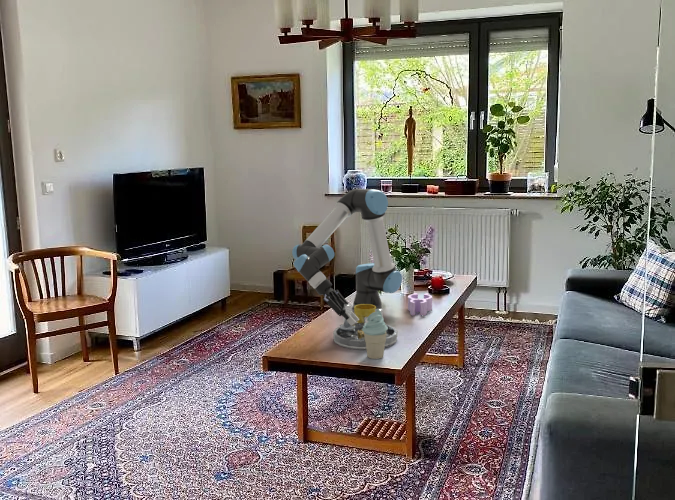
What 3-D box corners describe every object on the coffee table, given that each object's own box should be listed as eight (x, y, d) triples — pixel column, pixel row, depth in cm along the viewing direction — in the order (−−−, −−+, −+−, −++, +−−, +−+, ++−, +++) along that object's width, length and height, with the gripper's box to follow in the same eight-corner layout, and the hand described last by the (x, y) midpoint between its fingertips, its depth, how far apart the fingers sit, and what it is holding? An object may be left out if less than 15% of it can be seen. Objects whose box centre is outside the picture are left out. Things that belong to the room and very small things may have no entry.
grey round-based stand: (343, 326, 304) (343, 302, 302) (357, 327, 301) (357, 303, 299) (337, 330, 298) (337, 306, 296) (352, 331, 295) (351, 307, 293)
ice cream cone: (357, 357, 274) (356, 310, 271) (375, 350, 282) (375, 304, 278) (375, 362, 267) (375, 314, 264) (394, 355, 275) (393, 308, 271)
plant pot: (378, 323, 321) (378, 304, 319) (373, 330, 311) (373, 309, 309) (357, 322, 323) (357, 303, 322) (352, 328, 314) (351, 308, 312)
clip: (430, 316, 332) (430, 303, 331) (405, 315, 335) (405, 302, 333) (433, 306, 351) (433, 293, 350) (409, 305, 354) (409, 292, 353)
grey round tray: (347, 327, 315) (346, 302, 313) (405, 333, 305) (405, 307, 302) (323, 345, 290) (322, 318, 288) (385, 352, 279) (385, 324, 277)
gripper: (322, 285, 310) (356, 322, 306) (307, 293, 295) (343, 333, 291) (333, 274, 307) (367, 312, 304) (318, 282, 292) (354, 322, 288)
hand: (355, 322), depth 297 cm, fingers closed on grey round-based stand, 4 cm apart
